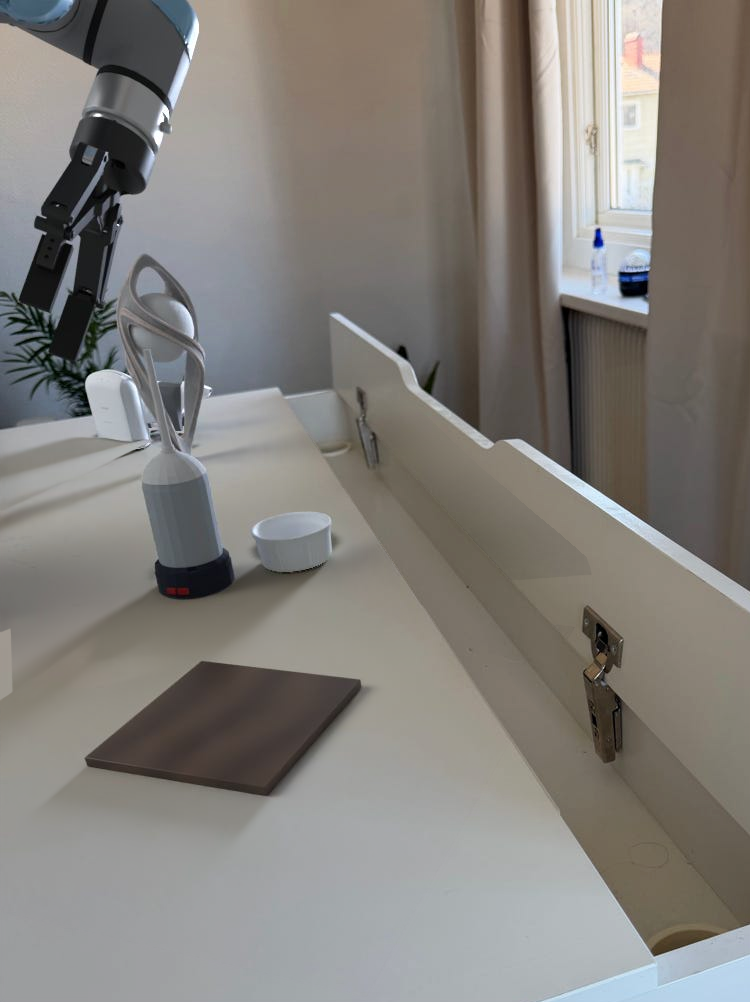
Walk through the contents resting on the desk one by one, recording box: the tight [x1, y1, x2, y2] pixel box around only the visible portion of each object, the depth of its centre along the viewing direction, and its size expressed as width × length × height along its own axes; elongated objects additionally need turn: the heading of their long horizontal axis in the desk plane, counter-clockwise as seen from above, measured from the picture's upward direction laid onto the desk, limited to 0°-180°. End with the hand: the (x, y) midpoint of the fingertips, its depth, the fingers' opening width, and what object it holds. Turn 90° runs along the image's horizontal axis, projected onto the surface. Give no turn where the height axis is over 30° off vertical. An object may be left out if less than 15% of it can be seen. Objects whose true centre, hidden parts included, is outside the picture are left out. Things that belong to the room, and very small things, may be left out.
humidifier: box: [140, 349, 236, 600], centre depth 101 cm, size 8×8×25 cm
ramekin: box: [250, 511, 333, 573], centre depth 110 cm, size 9×9×4 cm
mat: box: [84, 660, 362, 796], centre depth 79 cm, size 16×16×1 cm
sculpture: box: [115, 253, 206, 456], centre depth 144 cm, size 12×12×30 cm
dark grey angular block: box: [141, 375, 213, 431], centre depth 166 cm, size 15×6×10 cm, turn 91°
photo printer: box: [84, 368, 152, 448], centre depth 159 cm, size 10×4×12 cm, turn 55°
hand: (49, 334), depth 95 cm, fingers open, 13 cm apart
